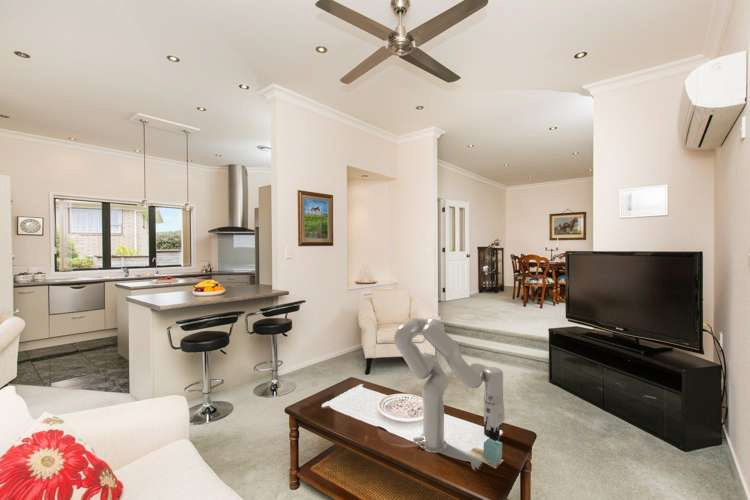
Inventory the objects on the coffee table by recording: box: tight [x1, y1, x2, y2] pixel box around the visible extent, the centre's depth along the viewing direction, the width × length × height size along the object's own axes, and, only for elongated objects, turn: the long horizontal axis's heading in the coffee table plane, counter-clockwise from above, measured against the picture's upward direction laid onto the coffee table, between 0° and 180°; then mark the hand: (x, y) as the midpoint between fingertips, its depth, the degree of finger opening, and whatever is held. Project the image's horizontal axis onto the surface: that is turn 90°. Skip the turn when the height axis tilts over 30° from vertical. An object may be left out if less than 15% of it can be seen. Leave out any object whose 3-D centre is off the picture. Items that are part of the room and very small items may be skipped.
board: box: [466, 445, 504, 469], centre depth 150 cm, size 8×14×1 cm, turn 43°
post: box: [485, 458, 502, 466], centre depth 147 cm, size 5×5×7 cm
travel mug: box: [483, 393, 501, 438], centre depth 166 cm, size 8×8×20 cm
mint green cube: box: [483, 437, 503, 463], centre depth 147 cm, size 6×6×6 cm
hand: (493, 438), depth 147 cm, fingers closed
